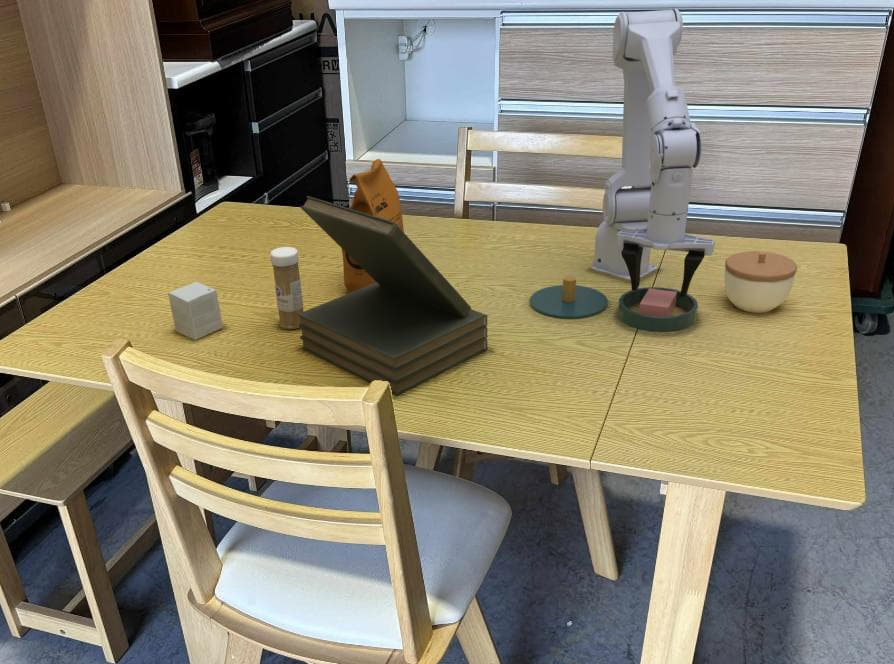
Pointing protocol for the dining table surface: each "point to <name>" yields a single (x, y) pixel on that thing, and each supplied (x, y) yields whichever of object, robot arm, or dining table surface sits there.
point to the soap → (658, 303)
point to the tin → (651, 321)
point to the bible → (389, 307)
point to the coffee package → (375, 200)
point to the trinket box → (758, 280)
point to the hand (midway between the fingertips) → (659, 291)
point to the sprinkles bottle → (287, 286)
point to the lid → (568, 300)
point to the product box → (195, 310)
